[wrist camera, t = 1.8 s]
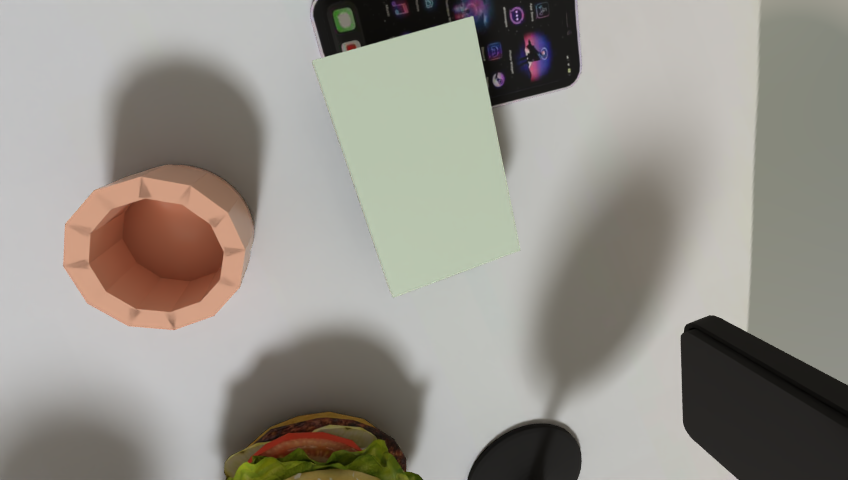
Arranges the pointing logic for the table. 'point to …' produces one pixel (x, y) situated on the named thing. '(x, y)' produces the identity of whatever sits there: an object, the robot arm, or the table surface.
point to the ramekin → (160, 246)
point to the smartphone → (496, 31)
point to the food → (320, 452)
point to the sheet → (422, 152)
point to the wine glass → (530, 456)
